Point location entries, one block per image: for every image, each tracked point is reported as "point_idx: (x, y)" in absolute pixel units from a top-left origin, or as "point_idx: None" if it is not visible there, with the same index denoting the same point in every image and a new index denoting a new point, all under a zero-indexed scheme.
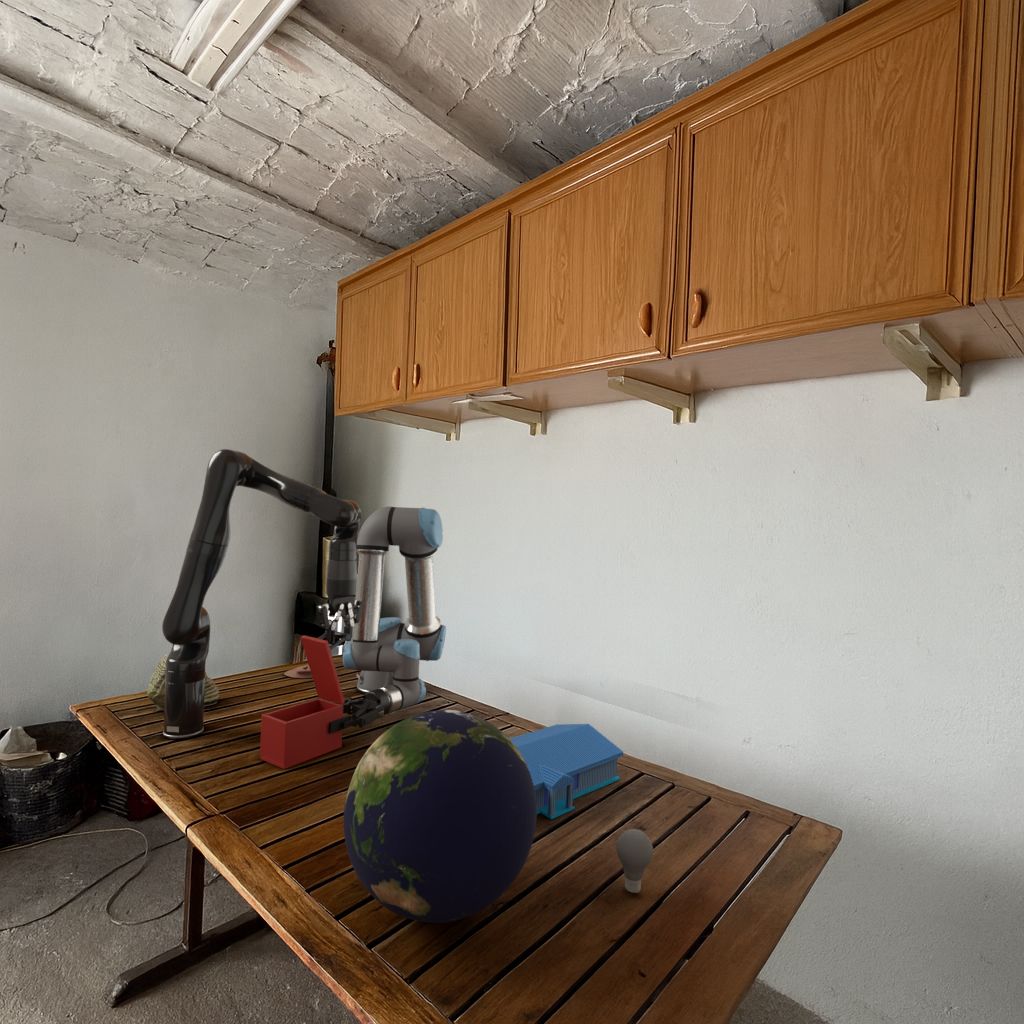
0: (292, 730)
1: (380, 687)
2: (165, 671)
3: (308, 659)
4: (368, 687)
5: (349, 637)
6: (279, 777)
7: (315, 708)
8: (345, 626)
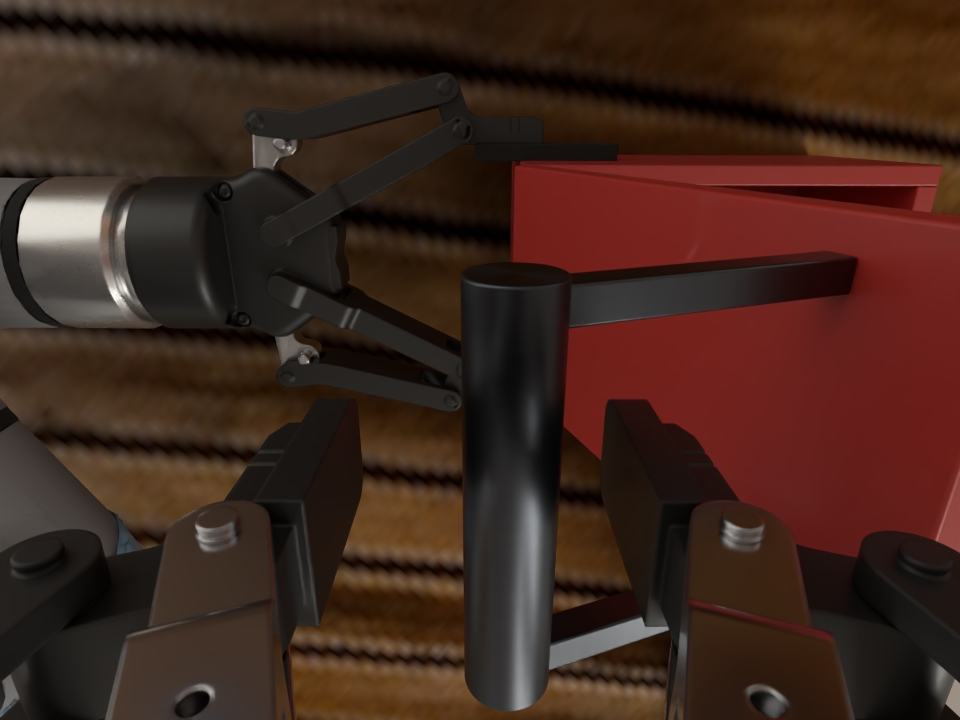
0: (864, 162)
1: None
2: None
3: None
4: None
5: (488, 269)
6: (874, 105)
7: None
8: (312, 599)
